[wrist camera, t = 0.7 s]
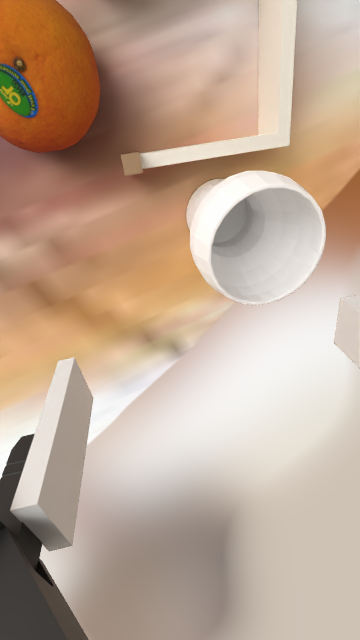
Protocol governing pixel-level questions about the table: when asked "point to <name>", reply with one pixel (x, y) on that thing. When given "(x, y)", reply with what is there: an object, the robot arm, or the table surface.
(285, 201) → the cup
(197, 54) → the table surface
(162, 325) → the table surface
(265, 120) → the frame
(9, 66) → the fruit
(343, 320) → the robot arm
